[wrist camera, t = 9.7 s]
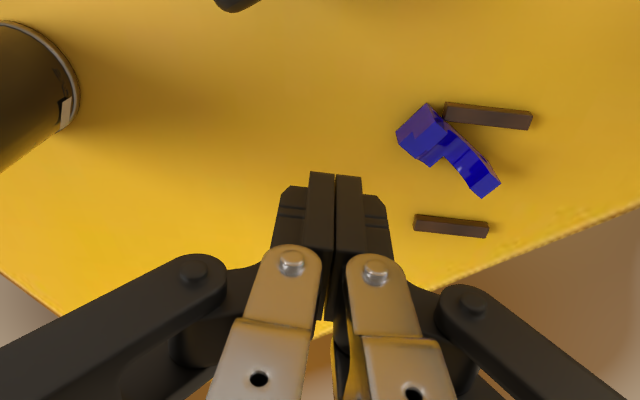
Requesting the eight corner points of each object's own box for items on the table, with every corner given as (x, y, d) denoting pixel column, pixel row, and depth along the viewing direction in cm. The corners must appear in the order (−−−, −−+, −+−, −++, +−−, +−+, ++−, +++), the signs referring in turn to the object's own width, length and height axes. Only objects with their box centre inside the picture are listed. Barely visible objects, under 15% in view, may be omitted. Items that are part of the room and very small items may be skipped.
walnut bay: (412, 224, 43) (413, 231, 42) (445, 101, 36) (447, 105, 35) (483, 232, 43) (485, 239, 42) (529, 111, 36) (533, 115, 35)
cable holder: (395, 131, 38) (400, 152, 34) (426, 102, 36) (434, 121, 33) (456, 185, 40) (466, 209, 37) (487, 160, 39) (501, 183, 36)
